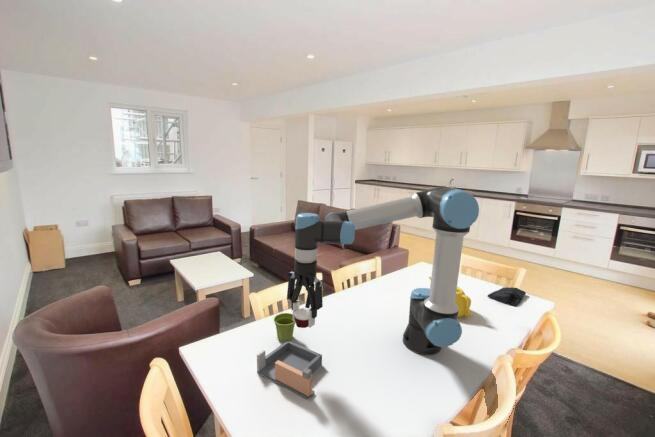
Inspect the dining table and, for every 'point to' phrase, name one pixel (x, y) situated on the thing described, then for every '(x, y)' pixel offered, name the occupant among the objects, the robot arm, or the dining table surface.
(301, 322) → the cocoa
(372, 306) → the dining table surface
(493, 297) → the dark slate chunk
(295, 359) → the box
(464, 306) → the teapot
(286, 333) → the plant pot
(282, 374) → the cover
